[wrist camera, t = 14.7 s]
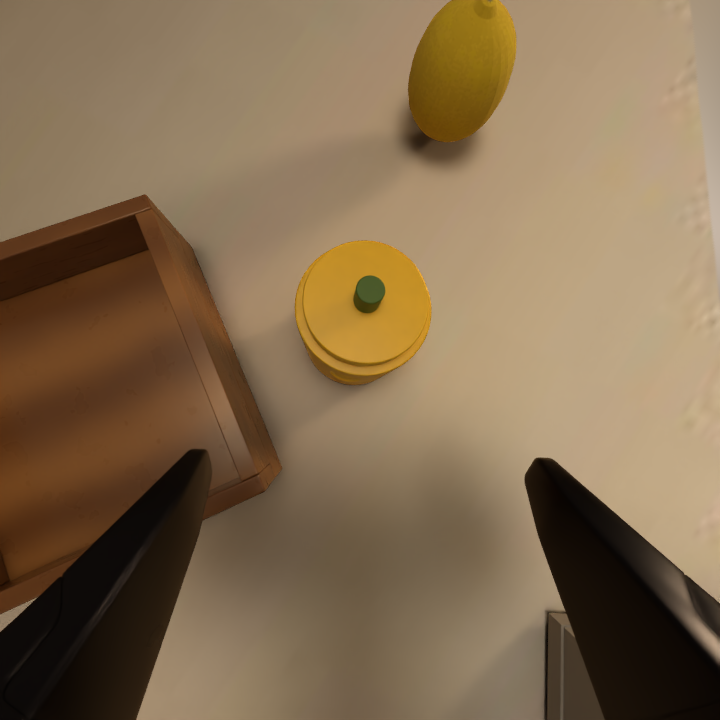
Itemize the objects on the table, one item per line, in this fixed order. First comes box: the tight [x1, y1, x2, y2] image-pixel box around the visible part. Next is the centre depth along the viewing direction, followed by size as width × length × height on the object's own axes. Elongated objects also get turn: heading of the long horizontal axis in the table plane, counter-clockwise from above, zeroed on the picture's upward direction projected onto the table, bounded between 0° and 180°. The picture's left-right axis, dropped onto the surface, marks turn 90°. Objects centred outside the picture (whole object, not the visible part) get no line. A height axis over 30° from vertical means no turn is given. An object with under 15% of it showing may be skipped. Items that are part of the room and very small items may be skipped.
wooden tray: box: [0, 195, 282, 614], centre depth 17 cm, size 15×14×6 cm
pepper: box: [295, 241, 431, 385], centre depth 17 cm, size 6×6×9 cm
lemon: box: [408, 0, 516, 142], centre depth 20 cm, size 6×6×8 cm
